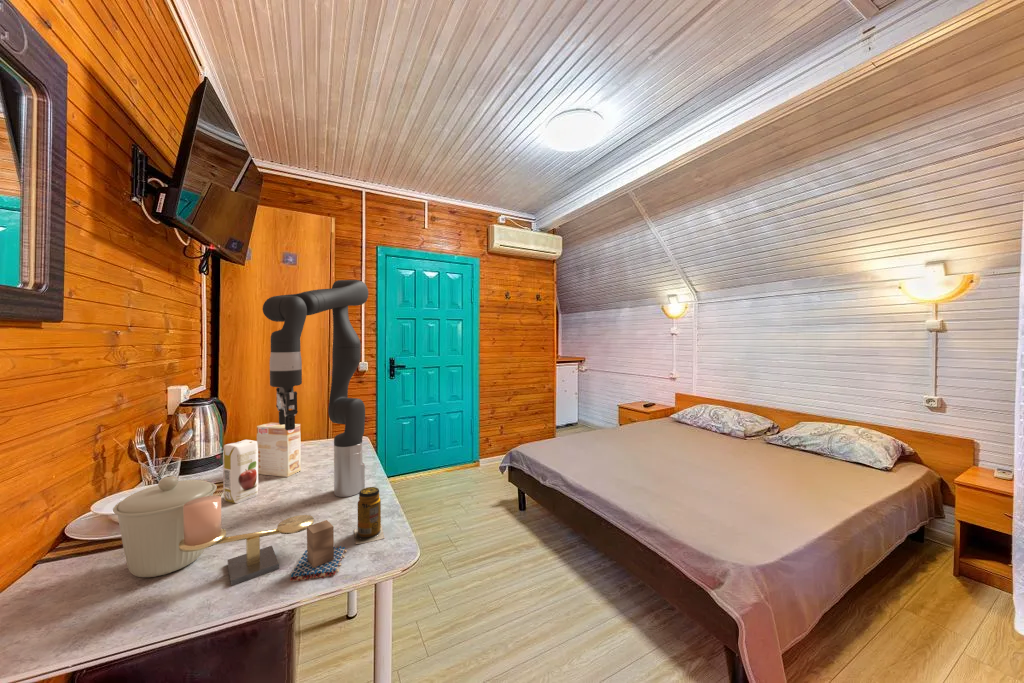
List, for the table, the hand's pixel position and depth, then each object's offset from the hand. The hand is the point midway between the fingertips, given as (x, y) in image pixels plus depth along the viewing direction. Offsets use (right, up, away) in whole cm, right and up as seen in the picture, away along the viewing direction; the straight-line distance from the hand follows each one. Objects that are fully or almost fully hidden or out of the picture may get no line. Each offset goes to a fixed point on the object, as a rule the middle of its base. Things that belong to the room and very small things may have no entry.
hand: (286, 426), depth 101 cm
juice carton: (-30, -30, +23) cm, 48 cm away
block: (+16, -29, -13) cm, 36 cm away
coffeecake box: (-32, -30, +47) cm, 64 cm away
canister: (-21, -30, -13) cm, 39 cm away
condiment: (+23, -30, 0) cm, 38 cm away
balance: (+1, -30, -14) cm, 33 cm away
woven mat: (+16, -31, -13) cm, 37 cm away
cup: (-6, -20, -20) cm, 29 cm away
